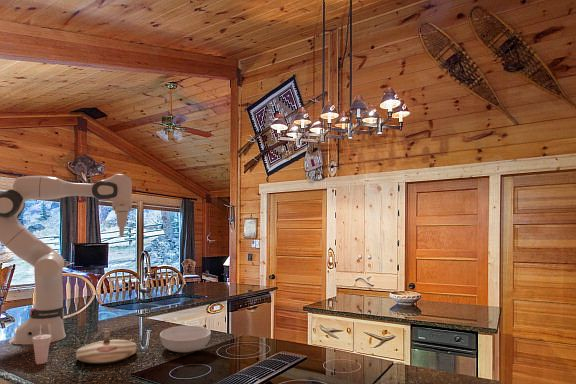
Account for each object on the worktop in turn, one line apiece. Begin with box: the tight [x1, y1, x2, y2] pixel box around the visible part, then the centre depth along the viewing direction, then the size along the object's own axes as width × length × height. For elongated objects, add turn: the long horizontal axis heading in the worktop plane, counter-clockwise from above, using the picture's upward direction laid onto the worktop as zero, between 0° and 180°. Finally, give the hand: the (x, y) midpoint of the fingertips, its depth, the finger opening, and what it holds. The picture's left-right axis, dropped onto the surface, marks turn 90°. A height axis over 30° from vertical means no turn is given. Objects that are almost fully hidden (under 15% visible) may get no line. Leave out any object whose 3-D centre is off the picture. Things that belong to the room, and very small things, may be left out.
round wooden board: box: [75, 330, 138, 364], centre depth 169 cm, size 22×22×6 cm
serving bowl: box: [159, 325, 212, 353], centre depth 180 cm, size 21×21×7 cm
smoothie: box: [32, 325, 51, 365], centre depth 164 cm, size 6×6×14 cm
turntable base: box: [85, 358, 127, 366], centre depth 169 cm, size 16×16×2 cm
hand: (121, 235), depth 210 cm, fingers open, 8 cm apart
